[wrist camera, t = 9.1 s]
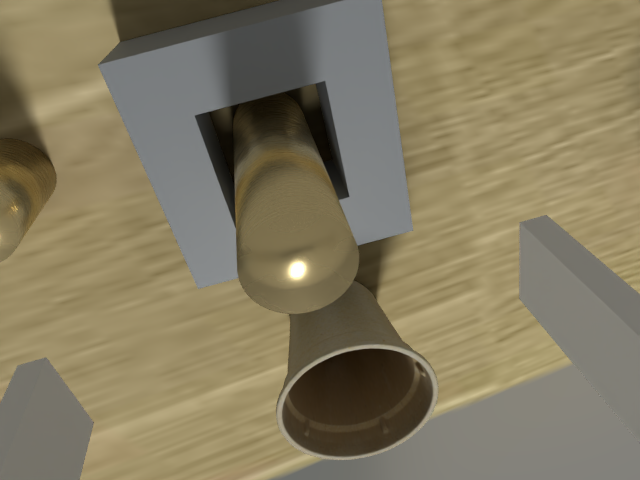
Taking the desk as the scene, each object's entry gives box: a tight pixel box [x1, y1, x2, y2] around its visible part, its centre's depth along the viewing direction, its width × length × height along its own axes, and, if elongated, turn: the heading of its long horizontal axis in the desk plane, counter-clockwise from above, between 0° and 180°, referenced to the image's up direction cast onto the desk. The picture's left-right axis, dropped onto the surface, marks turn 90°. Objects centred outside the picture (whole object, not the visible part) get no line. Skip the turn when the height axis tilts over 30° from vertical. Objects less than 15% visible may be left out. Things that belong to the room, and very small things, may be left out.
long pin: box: [233, 92, 359, 314], centre depth 22 cm, size 4×4×14 cm
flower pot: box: [276, 281, 438, 460], centre depth 32 cm, size 9×9×9 cm
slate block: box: [98, 0, 413, 289], centre depth 26 cm, size 12×12×5 cm
